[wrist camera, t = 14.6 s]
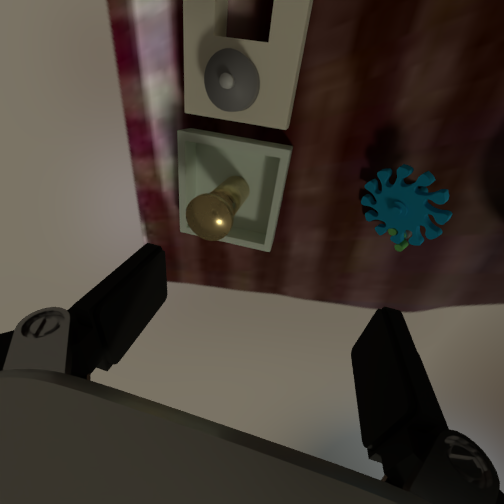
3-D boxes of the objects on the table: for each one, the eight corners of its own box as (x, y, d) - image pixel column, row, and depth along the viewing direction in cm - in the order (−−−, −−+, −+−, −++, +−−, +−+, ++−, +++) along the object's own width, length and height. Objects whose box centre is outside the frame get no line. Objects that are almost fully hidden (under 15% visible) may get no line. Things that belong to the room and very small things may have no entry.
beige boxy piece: (200, -48, 24) (157, -108, 18) (320, -37, 23) (323, -97, 16) (198, 112, 32) (167, 113, 25) (288, 127, 30) (281, 133, 24)
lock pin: (220, 168, 34) (185, 191, 25) (255, 175, 34) (233, 201, 24) (218, 202, 37) (186, 235, 28) (251, 209, 36) (229, 245, 27)
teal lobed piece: (358, 164, 29) (455, 176, 22) (388, 147, 31) (486, 152, 24) (357, 239, 36) (433, 267, 28) (382, 221, 38) (459, 243, 30)
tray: (191, 128, 33) (177, 130, 29) (293, 146, 31) (290, 150, 28) (191, 221, 40) (180, 231, 37) (273, 239, 39) (269, 252, 35)
